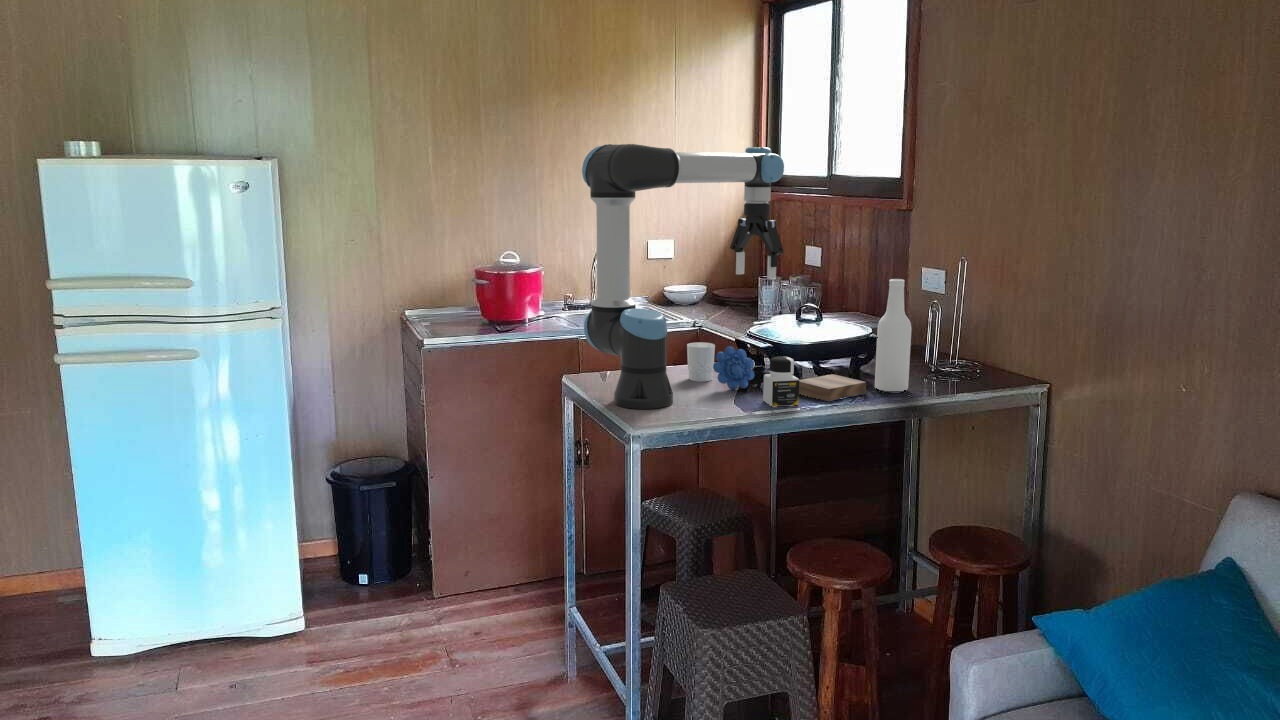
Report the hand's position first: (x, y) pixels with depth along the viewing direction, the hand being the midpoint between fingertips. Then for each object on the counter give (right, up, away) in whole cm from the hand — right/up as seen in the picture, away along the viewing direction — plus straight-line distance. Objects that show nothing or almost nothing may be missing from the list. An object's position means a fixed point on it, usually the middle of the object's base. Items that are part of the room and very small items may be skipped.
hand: (755, 276), depth 277 cm
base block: (+17, -33, -24) cm, 44 cm away
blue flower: (-8, -33, -19) cm, 39 cm away
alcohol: (+34, -33, -19) cm, 51 cm away
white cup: (-16, -30, -6) cm, 35 cm away
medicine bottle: (+2, -36, -34) cm, 49 cm away
